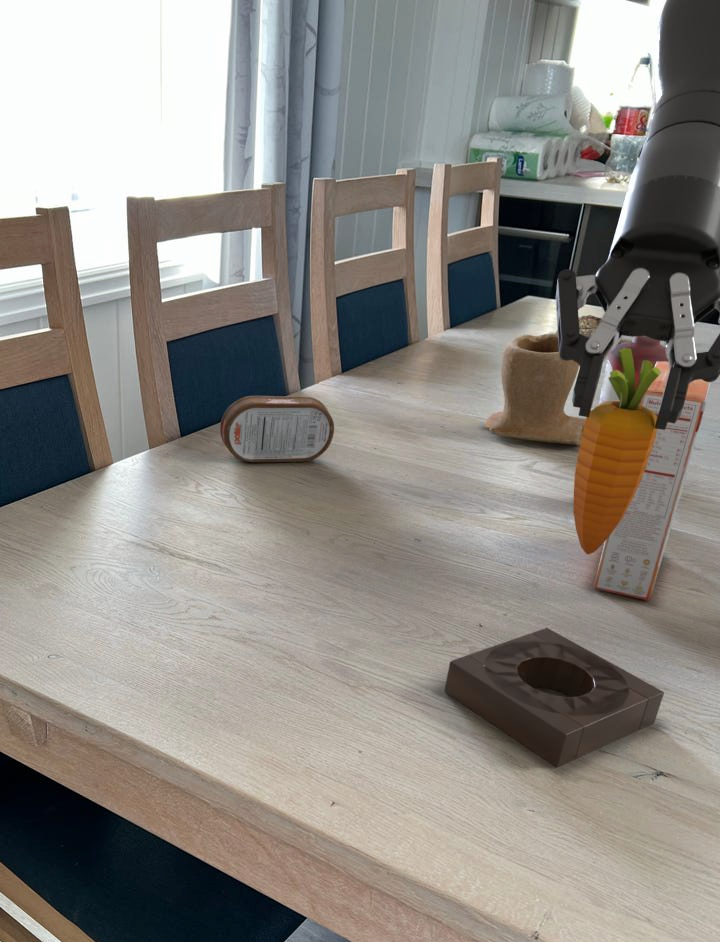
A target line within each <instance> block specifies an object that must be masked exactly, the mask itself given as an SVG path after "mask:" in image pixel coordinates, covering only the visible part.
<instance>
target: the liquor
mask: <svg viewBox="0 0 720 942" xmlns="http://www.w3.org/2000/svg"><path fill="white" fill-rule="evenodd" d="M623 348H628V349H631V352H632V356H633V361H634V369H635V391H636V388H637V385H638V382H639V378H640V372H641V367H642V362H643V361H644V360H647V361H650V362H651V363H652V364H653V368H654V367H655V365H656V362H660V361H666V362H669V360H668V359H667V357H666V350H665V346H664V345H661V341H660V340H654V339H652V338H649V337H646V336H635V337H632V339H631V340H629V341H626V342H621V343H618V344H617V346H616V347H615V349H614V350H613V351H611V352H610V353H609V355H608V356H607V360H606V366H605V370H604V376H603V379H602V385H601V390H600V394H599V395H600V396H599V402H598V405H599V404H600V403H602V402H606V401H620V400H619V398H618V396H617V395H616V393H615V391H614V389H613V387H612V385H611V383H610V381H609V379H608V378H609V377H610V376H611V375H610V372H612V371H614V370H618V371H620V372H621V373H622V374H623V371H622V366H621V362H620V357H619V351H620V350H622V349H623Z"/></svg>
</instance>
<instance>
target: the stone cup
mask: <svg viewBox="0 0 720 942" xmlns="http://www.w3.org/2000/svg"><path fill="white" fill-rule="evenodd" d="M579 369H580V366H579V364H578V363H577V362H575V361H573V360H569V361H565V360H563V359H561V358H560V356H559V344H558V334H556V333H544V334H539V335H531V334H523V335H519V336H517V337H515V338H513V339H511V340H510V341H509V342H507V344H506V346H505V347H504V350H503V354H502V361H501V370H500V376H501V377H500V378H501V379H500V380H501V386H502V391H503V399H504V404H503V410H502V411H499V412H494V413H492V414H491V415H489V416H488V417H487V418H486V419H485V424H484V425H485V428H486V430H487V431H489V432H490V433H491V434H492V435H496V436H500V437H503V438H510V439H516V440H522V441H523V440H524V441H531V442H541V443H542V442H543V443H550V444H551V443H552V444H560V445H561V444H562V445H571V446H580V443H581V439H582V434H583V429H584V425H585V421H586V418H587V417H579V416H578V417H577V416H573V415H568V414H566V413H565V406H566V403H567V400H568V397H569V395H570V393H571V390H572V387H573V385H574V383H575V381H576V379H577V376H578V372H579Z"/></svg>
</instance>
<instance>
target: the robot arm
mask: <svg viewBox="0 0 720 942" xmlns="http://www.w3.org/2000/svg"><path fill="white" fill-rule="evenodd" d="M657 28H658V29H657V36H656V48H655V66H654V104H653V111H652V114H651V117H650V120H649V124H648V127H647V130H646V134H645V137H644V142H643V145H642V149H641V152H640V155H639V158H638V160H637V162H636V164H635V166H634V168H633V171H632V173H631V176H630V179H629V181H628V182H629V183H628V186H627V189H626V193H625V197H624V199H623V202H622V205H621V206H622V207H621V211H620V215H619V218H618V222H617V225H616V229H615V233H614V236H613V240H612V243H611V246H610V250H609V255H608V258H607V260H606V261H605V263H604V264H603V265H601V267H599V269H598V270H597V272H596V274H589V275H579V276H576V272H575V271H574V270H572V269H568V268H565V269H562V270H561V271H559V273H558V275H557V281H556V282H557V283H556V292H555V310H556V326H557V330H558V344H559V356H560V358H561V359H563V360H565V361H569V360H573V361H575V362H577V363H578V364H579V369H578V372H577V375H576V379H575V382H574V383H575V384H574V387H573V392H572V399H571V401H572V407H573V408H578V409H579V410H578V417H583V418H587V417H589V415H590V411H591V410H592V407H593V403H594V400H595V396H596V392H597V389H598V385H599V382H600V378H601V374H602V369H603V364H604V362H605V360H606V359H608V355H609V353H610V352H611V351H613V350H614V349H615V347H616V346H618V345H619V344H620V341H621V340H622V339H623V338H624V337H632V338H633V337H635V336H646V337H649V338H652V339H654V340H660V342H664V347H665V350H666V357H667V359H668V360H669V368H670V372H669V375H668V378H667V381H666V384H665V388H664V392H663V396H662V400H661V404H660V408H659V412H658V416H657V420H656V424H655V429H661V430H665V429H666V426H667V423H668V422H669V423H676V421H677V420H678V419H679V417H680V415H681V412H682V409H683V406H684V402H685V398H686V394H687V390H688V386H689V383H690V382H692V381H694V380H699V379H702V380H704V381H706V382H711V383H713V382H715V381H716V380H718V378H719V377H720V333H719V334H718V335H717V337H716V338H715V340H714V341H713V343H712V345H711V346H710V348H709V350H708V351H702V352H696V345H695V324H696V323H698V322H699V321H701V320H702V319H703V318H704V317H706V316H707V315H709V313H711V312H712V311H713V310H717V311H718V312H719V314H720V0H666V1H665V2H664V5H663V8H662V11H661V14H660V18H659V22H658V27H657ZM593 294H594V295H595V297H596V298H597V300H598V302H599V304H600V306H601V308H602V310H603V311H604V313H603V315H602V317H601V318H602V319H601V322H600V324H599V325H598V327H597V328H596V330H595V331H594V333H593V334H592V335H591V337H590V338H587V337H585V336H583V335H581V334H580V331H579V317H580V316H579V310H580V309H582V308H583V307H585V305H586V304H587V299H588V297H589V296H590V295H593ZM718 317H719V318H718V324H719V326H720V316H718Z"/></svg>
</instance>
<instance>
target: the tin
mask: <svg viewBox="0 0 720 942" xmlns="http://www.w3.org/2000/svg"><path fill="white" fill-rule="evenodd" d="M334 423H335V422H334V420H333V417H332V415H331V413H330V411H329V410H328V408H327V407H326V405H325V404H324V403H322V402H321V401H320V400H319V399H317V398H315V397H311V396H291V395H290V396H289V395H288V396H285V395H284V396H282V395H281V396H279V395H277V396H275V395H249V396H244V397H242V398H239V399H237V400H236V401H234V402H233V403H232V404H231V405H229V406H228V407H227V409H225V412H224V413H223V416H222V417H221V421H220V426H219V433H220V438H221V440H222V442H223V444H224V445H225V447H226V448H227V450H228V451H229V452H230V454H232V456H234V458H236V459H238V460H240V461H243V462H246V463H307V462H310V461H314V460H316V459H317V458H319V457H320V456H322V455H323V454H324V453H325V452H326V451H327V450H328V449H329V447H330V445H331V443H332V441H333V438H334V433H335V424H334Z"/></svg>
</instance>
